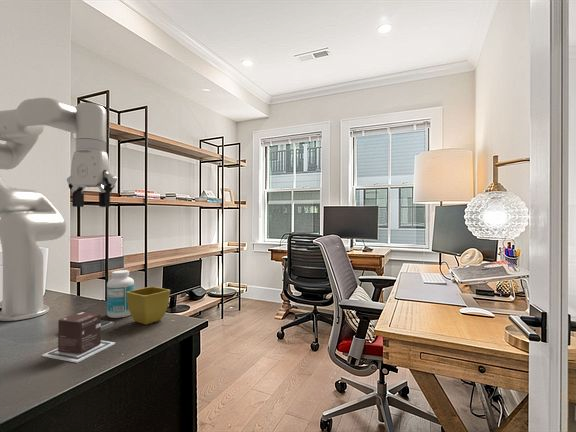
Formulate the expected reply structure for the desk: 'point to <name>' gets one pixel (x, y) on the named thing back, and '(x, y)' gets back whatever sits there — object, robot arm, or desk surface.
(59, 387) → the desk surface
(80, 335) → the box
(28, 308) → the robot arm
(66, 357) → the frame card
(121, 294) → the pill bottle
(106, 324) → the ink pad
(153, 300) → the flower pot
